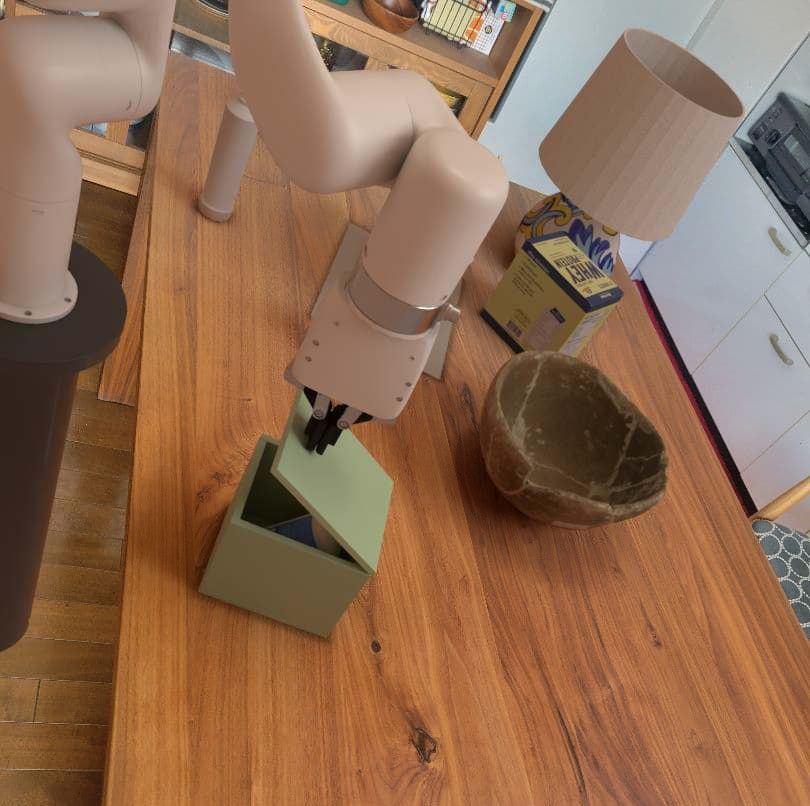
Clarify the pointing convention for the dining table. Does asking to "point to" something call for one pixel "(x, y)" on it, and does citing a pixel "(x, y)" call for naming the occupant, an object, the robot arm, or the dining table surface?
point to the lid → (336, 485)
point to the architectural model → (347, 261)
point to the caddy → (277, 556)
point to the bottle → (228, 160)
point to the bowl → (569, 443)
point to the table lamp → (633, 147)
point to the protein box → (551, 297)
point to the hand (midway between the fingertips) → (316, 442)
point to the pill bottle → (308, 533)
